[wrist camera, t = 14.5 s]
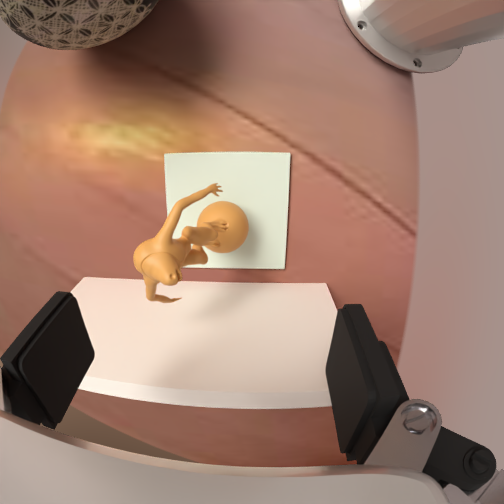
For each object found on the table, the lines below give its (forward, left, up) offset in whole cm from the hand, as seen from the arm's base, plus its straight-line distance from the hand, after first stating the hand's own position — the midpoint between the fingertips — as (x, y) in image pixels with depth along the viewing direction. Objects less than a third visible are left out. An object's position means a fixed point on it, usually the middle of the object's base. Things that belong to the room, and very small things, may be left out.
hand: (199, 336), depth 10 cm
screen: (+7, +5, -17) cm, 19 cm away
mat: (+1, 0, -17) cm, 17 cm away
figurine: (+2, 0, -17) cm, 17 cm away
